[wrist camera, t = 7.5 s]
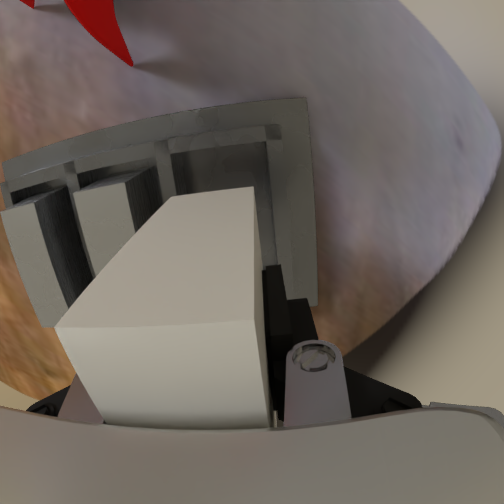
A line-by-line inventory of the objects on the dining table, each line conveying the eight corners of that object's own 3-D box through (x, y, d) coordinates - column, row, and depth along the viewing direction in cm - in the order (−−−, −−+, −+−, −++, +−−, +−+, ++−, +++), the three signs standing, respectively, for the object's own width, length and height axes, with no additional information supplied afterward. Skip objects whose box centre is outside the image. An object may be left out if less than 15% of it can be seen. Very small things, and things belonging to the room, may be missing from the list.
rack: (6, 161, 19) (-43, 178, 13) (304, 98, 18) (325, 91, 13) (55, 318, 24) (25, 358, 19) (316, 301, 23) (332, 351, 18)
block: (171, 196, 11) (53, 327, 4) (253, 186, 11) (254, 319, 4) (208, 365, 15) (185, 523, 7) (272, 361, 14) (282, 523, 7)
